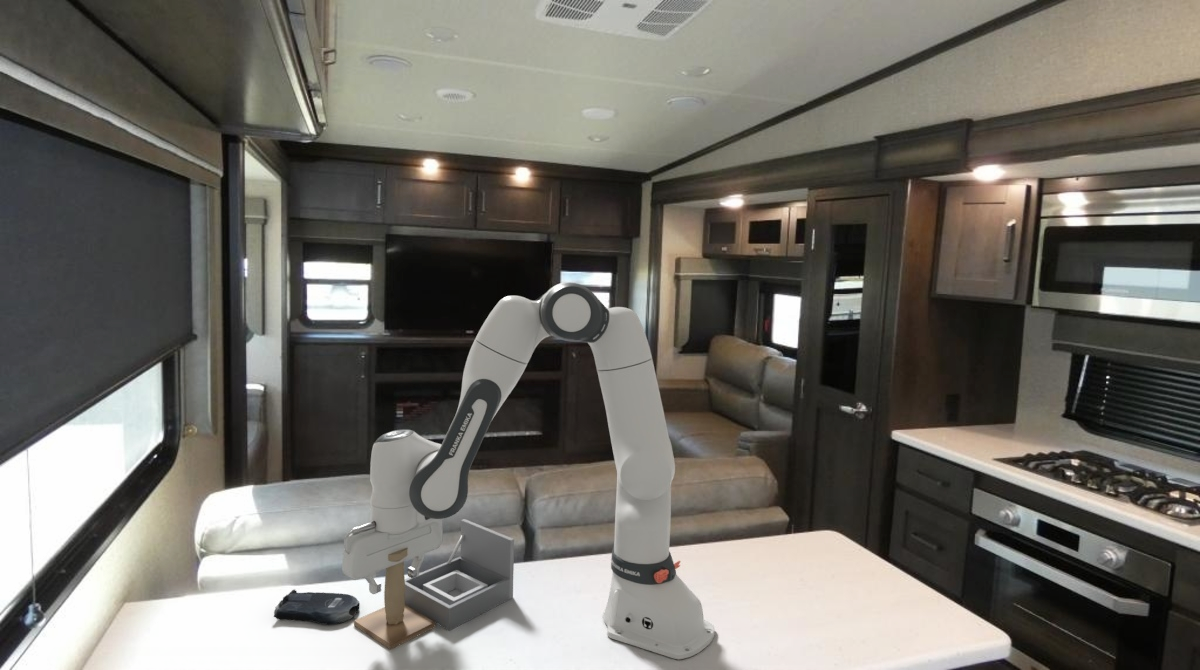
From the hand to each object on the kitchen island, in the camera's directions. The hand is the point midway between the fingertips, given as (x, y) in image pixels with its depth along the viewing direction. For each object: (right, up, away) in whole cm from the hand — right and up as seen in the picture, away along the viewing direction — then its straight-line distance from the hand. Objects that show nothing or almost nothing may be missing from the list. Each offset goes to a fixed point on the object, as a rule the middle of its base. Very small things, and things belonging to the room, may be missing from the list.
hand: (394, 584), depth 127 cm
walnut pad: (0, -9, +1) cm, 9 cm away
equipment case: (+9, -8, +11) cm, 16 cm away
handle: (0, -8, +1) cm, 8 cm away
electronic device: (-16, -8, +5) cm, 19 cm away
